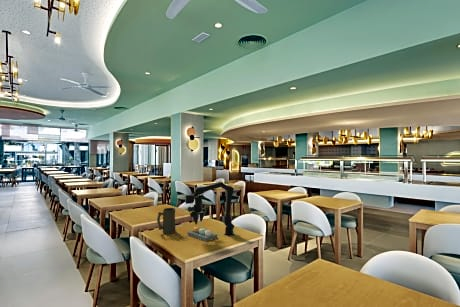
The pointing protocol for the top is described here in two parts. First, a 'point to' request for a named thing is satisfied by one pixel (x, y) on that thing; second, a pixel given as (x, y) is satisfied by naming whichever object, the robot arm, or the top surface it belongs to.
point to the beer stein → (167, 221)
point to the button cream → (208, 233)
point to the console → (202, 236)
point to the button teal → (201, 231)
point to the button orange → (196, 229)
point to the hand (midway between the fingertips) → (198, 222)
